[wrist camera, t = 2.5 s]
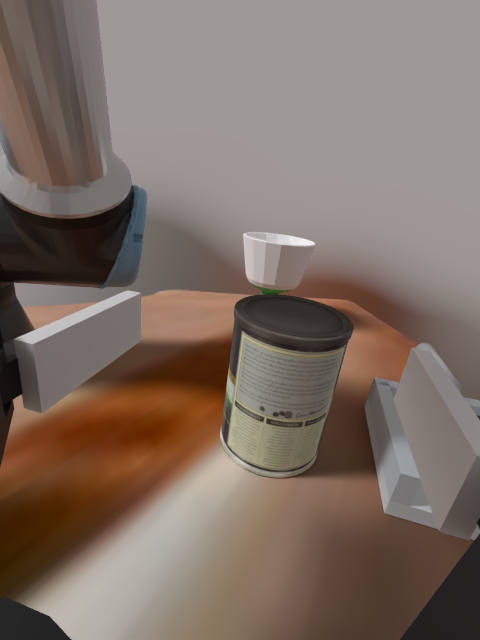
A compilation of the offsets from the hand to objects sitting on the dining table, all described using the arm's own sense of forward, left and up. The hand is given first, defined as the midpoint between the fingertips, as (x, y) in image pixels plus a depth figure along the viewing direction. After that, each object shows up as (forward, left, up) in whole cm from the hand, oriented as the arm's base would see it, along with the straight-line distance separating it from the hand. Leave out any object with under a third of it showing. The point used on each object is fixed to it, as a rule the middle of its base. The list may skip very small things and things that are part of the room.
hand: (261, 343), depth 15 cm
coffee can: (-11, +7, -17) cm, 21 cm away
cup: (-44, +19, -17) cm, 51 cm away
